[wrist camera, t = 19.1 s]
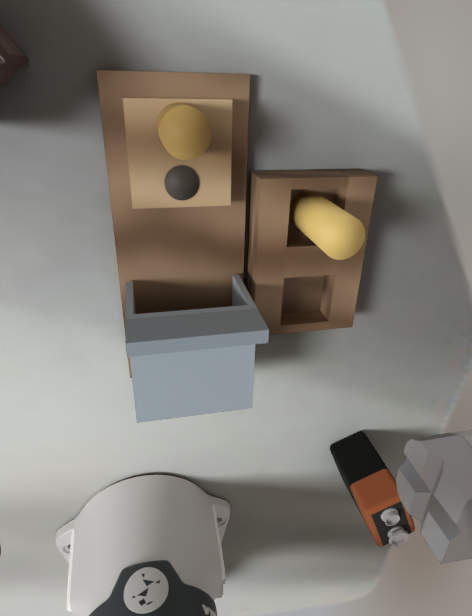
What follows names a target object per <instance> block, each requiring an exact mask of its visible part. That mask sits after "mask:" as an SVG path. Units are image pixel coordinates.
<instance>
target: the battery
mask: <svg viewBox="0 0 472 616" xmlns="http://www.w3.org/2000/svg"><path fill="white" fill-rule="evenodd" d="M330 450H331V453H332V455H333V458H334V460H335V463H336V465H337V467H338V470H339V472H340V474H341V477H342V479H343V481H344V483H345V485H346V487H347V489H348V491H349V492H350V494H351V496H352V498H353V500H354V502H355V504H356V506H357V508H358V510H359V511H360V513H361V515H362V517H363V519H364V521H365V523H366V525H367V527H368V528H369V530H370V532H371V534H372V536H373V538H374V540H375V542H376V543H377V545H378V546H384V545H386V544H388V543H390V544H391V545H393V546H396V547H398V546H400V545H402V544H404V543H406V542H407V540H408V538H409V534H410V533H411V532H414V530H415V526H414V523H413V519H412V516H411V515H410V514H408V512H407V511H406V509H405V507H404V506H403V504H402V502H401V500H400V497H399V495H398V492H397V484H396V480H395V479H394V477H393V476H392V474H391V473H390V471H389V470H388V468H387V467H386V465H385V464H384V462H383V460H382V459H381V457H380V456H379V454H378V453H377V451H376V450H375V448H374V447H373V445H372V444H371V442H370V441H369V439H368V438H367V436H366V435H365V433H364V432H358V433H356V434H354V435H352V436H350V437H347V438H345V439H343V440H341V441H339V442H337V443H335V444H333V445H331V446H330Z"/></svg>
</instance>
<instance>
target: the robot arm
mask: <svg viewBox="0 0 472 616" xmlns="http://www.w3.org/2000/svg"><path fill="white" fill-rule="evenodd" d="M403 453H404V454H405V456H406V458H407V460H406V461H405V462H404V463H403V464H402V465H401V466H400V467H399V468H398V473H397V477H396V484H397V492H398V495H399V497H400V500H401V502H402V504H403V506H404V507H405V509H406V511H407V512H408V514H410V515H411V516H413V517H414V518H416V519H417V520H419V521H420V522H421V534H422V536H423V537H424V539H425V540H426V542H427V543H428V545H429V547H430V548H431V550H432V551H433V553H434V554H435V556H436V557H437V559H438V561H439V562H440V564H442V563H447V562H454V561H459V560H465V559H471V558H472V430H469V431H462V432H455V433H446V434H439V435H433V436H426V437H419V438H412V439H410V440H409V441H408V442H407V443H406V445H405V448H404V452H403ZM230 513H231V512H230V504H229V503H228V502H227V501H225V500H223V499H220V498H216V497H212V496H210V495H208V494H206V493H205V492H204V491H203V490H202V489H200V488H199V487H198V486H197V485H195V484H193V483H192V482H190V481H187V480H185V479H182V478H178V477H174V476H168V475H145V476H139V477H134V478H130V479H126V480H123V481H120V482H118V483H115V484H113V485H111V486H109V487H107V488H105V489H104V490H102V491H101V492H99V493H98V494H97V495H95V496H94V497H93V498H92V499H91V500H90V501H89V502H88V503H87V504H86V506H85V507H84V508H83V510H82V511H81V513H80V514H79V515H78V516H77V517H76V518H75V519H74V520H72V521H70V522H69V523H67V524H65V525H64V526H63V527H61V528H60V529H59V530H58V531H57V533H56V545H57V546H58V548H59V550H60V551H61V553H62V554H63V556H64V557H65V559H66V561H67V562H68V564H69V575H68V590H67V610H68V611H70V612H71V613H72V615H73V616H217V611H216V605H215V603H214V600H215V598H220V597H222V595H223V584H225V566H224V560H223V554H222V547H221V544H222V540H223V537H224V534H225V530H226V527H227V524H228V520H229V517H230ZM0 554H1V546H0Z"/></svg>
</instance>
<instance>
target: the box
mask: <svg viewBox="0 0 472 616" xmlns="http://www.w3.org/2000/svg"><path fill="white" fill-rule="evenodd" d="M28 63H29V60H28V59H27V57H26V56H25V55H24V54H23V52H22V51H21V50H20V49H19V48H18V46H17V45H16V44H15V43H14V42H13V40H12V39H11V38H10V37H9V35H8V34H7V33H6V32H5V30H4V29H3V28H2V27H1V26H0V88H1V87H2V86H3V85H4V84H5V83H7V82H8V81H9V80H10V79H11V78H12V77H14V76H15V75H16V74H17V73H19V72H20V71H21V70H22V69H23V68H24V67H25V66H27V65H28Z"/></svg>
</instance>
